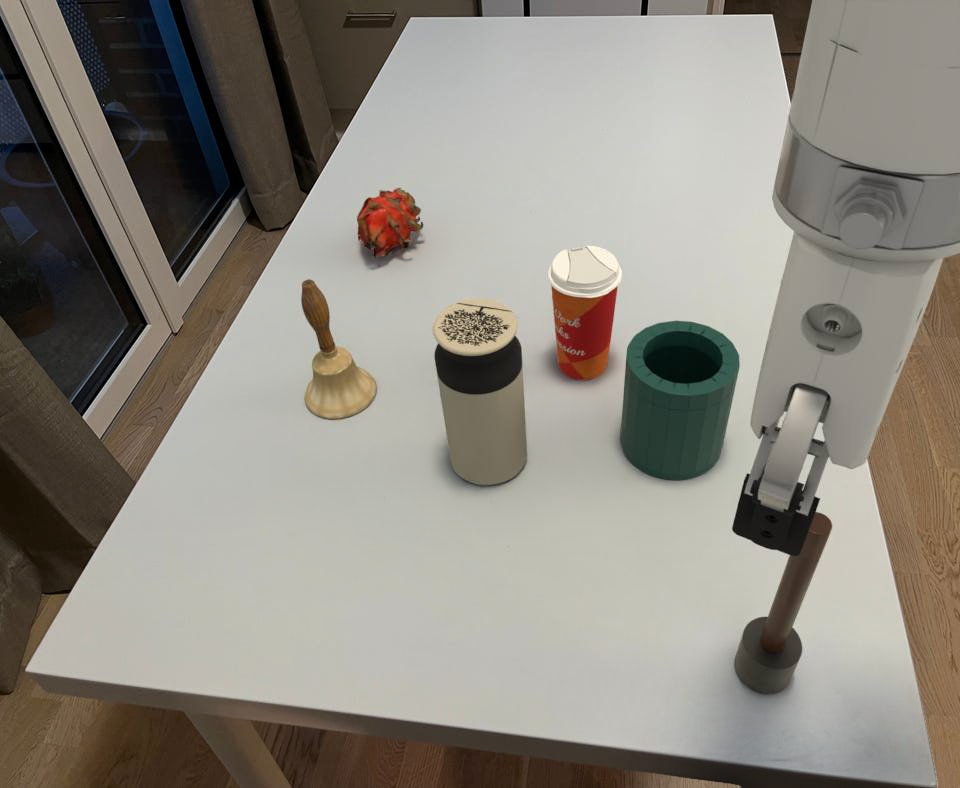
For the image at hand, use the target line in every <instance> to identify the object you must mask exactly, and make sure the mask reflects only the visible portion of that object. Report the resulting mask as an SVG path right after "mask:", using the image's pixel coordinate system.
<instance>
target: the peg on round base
mask: <svg viewBox="0 0 960 788" xmlns="http://www.w3.org/2000/svg"><path fill="white" fill-rule="evenodd" d="M832 530H833V523H832V520H831V519H830V518H829V517H828V515H826V514H824V513H821V512H819V511H816V512H815V515H814V518H813V520H812V523H811V526H810V528H809V531H808V534H807V537H806V539H805V542H804V545H803V547H802V550H801V553H800V555H798V556H791V555H789V556H788V559H787V561H786V565H785V568H784V570H783V573H782V576H781V579H780V581H779V585H778V587H777V590H776V592H775V595H774V599H773V601H772V604H771V607H770V610H769V612H768V615H767V616H761V617H757V618H754V619H752V620H751V621H749V622H748V623H747V624H746V626H745V627H744V629H743V632H742V635H741V638H740V641H739V645H738V647H737V651H736V654H735V657H734V663H733V664H734V665H733V666H734V671H735V673H736V676H737V677H738V679H739V680H740V681H741V683H742V684H743V685H744V686H746V688H748V689H749V690H751V691H753V692H755V693H758V694H761V695H775V694H778V693H781V692H783V691H784V690H785V689H786V688H787V687H788V686H789V684H790V682H791V680H792V677H793V675H794V673H795V671H796V670H797V669H796V668H797V666H798V664H799V662H800V659H801V658H802V655H803V642H802V639H801V637H800V635H799V633H798V632H797V631H796V630H795V628H794V624H795V622H796V619H797V616H798V614H799V611H800V610H801V607H802V605H803V602H804V600H805V597H806V595H807V592H808V589H809V587H810V584H811V582H812V580H813V577H814V575H815V572H816V570H817V567H818V566H819V565H818V564H819V562H820V559H821V557H822V555H823V552H824V550H825V548H826V545H827V542H828V540H829V538H830V535H831V533H832Z"/></svg>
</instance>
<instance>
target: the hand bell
mask: <svg viewBox="0 0 960 788" xmlns="http://www.w3.org/2000/svg"><path fill="white" fill-rule="evenodd" d="M300 300H301V308H302V311H303V314H304V317H305V319H306V321H307V322H308V324H309V326H310V327H311V328H312V330H313V331H314V333H315V335H316V339H317V343H318V347H319V351H317V353H315V355H314V356H313V358H312V360H311V368H312V379H311V380H310V381H309V383H308V385H307V387H306V389H305V391H304V403H305V406H306V408H307V409H308V410H309V412H311V413H312V414H313V415H315V416H317V417H320V418H323V419H327V420H342V419H346V418H350V417H353V416H355V415H357V414H359V413H361V412H363V411H364V410H365V409H367V407H369V406H370V404H372V402H373V401H374V399H375V397H376V395H377V391H378V390H377V389H378V387H377V386H378V385H377V382H376V379H375V378H374V377H373V375H372V374H371V373H370V372H368V371H367V370H365V369H364V368H362V367H360V366H357V363H356V362H355V361H354V358H353V356H352V354H351V352H350V351H349V350H348V349H346V348H345V347H343V346H337V345H336V343H335V340H334V337H333V335H332V331H331V329H330V328H331V327H330V319H331V316H330V309H329V308H330V307H329V304H328V302H327V299H326V297H325V295H324V293H323V292H322V290H321V289H320V288H319V287H318V286H317V284H316V282H315V280H313V279H310V278H309V279H305V280H303V281H302V283H301V299H300Z"/></svg>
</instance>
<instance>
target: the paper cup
mask: <svg viewBox="0 0 960 788" xmlns="http://www.w3.org/2000/svg"><path fill="white" fill-rule="evenodd" d="M622 279H623V271H622V268H621V266H620V265H619V261H618V259H617V258H616V256H615V255H614V254H613V253H612V252H610V251H609V250H607V249H605V248H604V247H603V248H602V247H600V246H595V245H585V247H582V246H576V247H572V248H570V249H566V248H565V249H563V250H562V251H560V252H559V253H557V254H556V256H554V258H553V260H552V262H551V265H550V266H549V268H548V271H547V280H548V282H549V285H550V287H551V300H552V308H553V321H554V333H555V343H556V345H555V346H556V354H557V363H558V367H559V369H560V371H561V372H562V373H563V374H564V375H565V376H566V377H568V378H570V379H573V380H577V381H589V380H593V379H596V378H598V377H600V376H601V375H602V374H604V373H605V371H606V370H607V366H608V362H609V356H610V348H611V341H612V334H613V327H614V320H615V319H614V318H615V310H616V303H617V302H616V301H617V295H618V288H619V287H618V286H619V285H620V283H621V281H622Z"/></svg>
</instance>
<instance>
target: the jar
mask: <svg viewBox="0 0 960 788" xmlns="http://www.w3.org/2000/svg"><path fill="white" fill-rule="evenodd" d="M624 369H625V370H624V383H623V394H622V395H623V399H622V409H621V410H622V411H621V421H620V422H621V424H620V447H621V449H622V451H623V454H624V455H625V457H626V459H627V460H628V461H629V462H630V463H631V464H632V465H633V466H634V467H635V468H637V469H638V470H639V471H641V472H643V473H645V474H647V475H649V476H652V477H655V478H657V479H662V480H668V481H683V480H691V479H694V478H697V477H700V476H702V475H704V474H706V473H707V472H708V471H710V470H711V469H712V468H713V467H714V466H715V465H716V464H717V462H718V461H719V459H720V457H721V454H722V449H723V447H724V443H725V438H726V433H727V428H728V423H729V418H730V414H731V410H732V404H733V400H734V395H735V390H736V386H737V381H738V376H739V373H740V372H739V371H740V353H739V352H738V350H737V348H736V346H735V345H734V342H732V341H731V340H730V338H728V337H727V336H726V335H725V334H723V333H722V332H721V331H719V330H717V329H715V328H713V327H711V326H708V325H705V324H702V323H698V322H694V321H688V320H687V321H685V320H670V321H663V322H657V323H655V324H652V325H649V326H647V327H645V328H643V329H642V330H640V331H638V333H636V334H635V335H634V336H633V337H632V339H631V340H630V342H629V343H628V345H627V347H626V359H625V368H624Z"/></svg>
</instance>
